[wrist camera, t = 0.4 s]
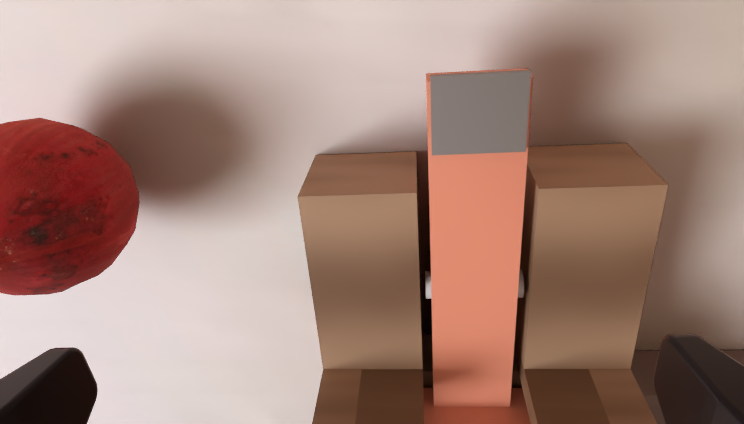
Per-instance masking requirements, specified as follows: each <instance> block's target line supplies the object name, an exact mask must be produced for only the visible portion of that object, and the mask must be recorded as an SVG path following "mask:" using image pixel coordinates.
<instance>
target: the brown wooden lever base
mask: <svg viewBox="0 0 744 424" xmlns="http://www.w3.org/2000/svg"><path fill="white" fill-rule="evenodd" d="M667 189H668V184H667V183H666V182H665V181H664V180H663V179H662V178H661V177H660V176H659V175H658V174H657V173H656V172H655V171H654V170H653V169H652V168H651V167H650V166H649V165H648V164H647V163H646V162H645V161H644V160H643V159H642V158H641V157H640V156H639V155H638V154H637V153H636V152H635V151H634V150H633V149H632V148H631V147H630V146H629V145H628V144H627V143H616V144H590V145H565V146H539V147H528V157H527V171H526V185H525V200H524V214H523V228H522V242H521V257H520V269H521V270H522V273H523V278H524V295H523V297H522V298H518V299H517V314H516V328H515V342H514V356H513V371H512V385H511V388H522V389H523V393H524V397H525V402H526V406H527V410H528V415H529V419H530V423H531V424H657V422H656V420H655V418H654V416H653V414H652V412H651V410H650V408H649V406H648V404H647V402H646V400H645V398H644V396H643V394H642V392H641V389H640V387H639V385H638V383H637V381H636V379H635V377H634V375H633V373H632V371H631V364H632V359H633V354H634V349H635V344H636V340H637V335H638V330H639V325H640V320H641V315H642V310H643V306H644V301H645V296H646V291H647V286H648V281H649V276H650V272H651V267H652V262H653V257H654V252H655V247H656V243H657V238H658V233H659V228H660V223H661V218H662V213H663V209H664V204H665V199H666V194H667ZM298 202H299V208H300V215H301V222H302V228H303V235H304V242H305V249H306V255H307V262H308V269H309V276H310V282H311V289H312V296H313V303H314V309H315V316H316V323H317V330H318V336H319V343H320V350H321V357H322V363H323V374H322V379H321V383H320V388H319V393H318V398H317V403H316V408H315V413H314V418H313V422H312V424H424V401H423V388H433V360H432V335H422V311H421V281H420V250H419V220H418V189H417V159H416V151H411V152H386V153H360V154H335V155H316V156H315V158H314V160H313V163H312V165H311V167H310V170H309V172H308V174H307V177H306V179H305V181H304V183H303V186H302V188H301V190H300V193H299V195H298Z"/></svg>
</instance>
